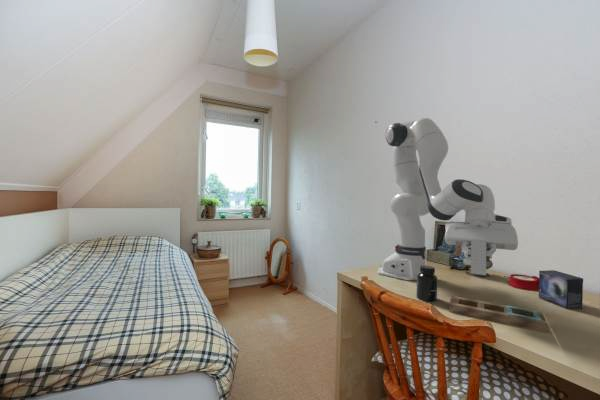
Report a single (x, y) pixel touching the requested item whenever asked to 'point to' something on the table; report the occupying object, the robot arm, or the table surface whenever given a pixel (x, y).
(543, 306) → the table surface
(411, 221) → the robot arm
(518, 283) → the alarm clock
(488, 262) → the apothecary jar
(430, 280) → the supplement bottle
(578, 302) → the small box
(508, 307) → the wooden compartment tray
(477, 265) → the steel peg
